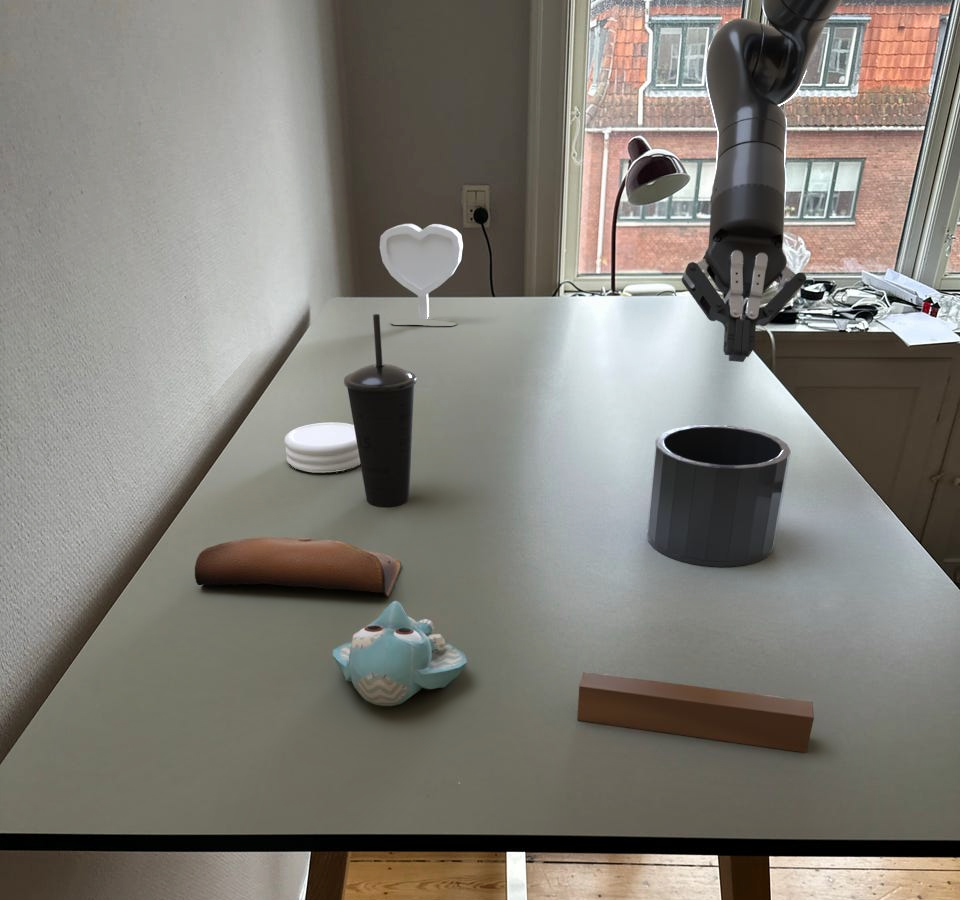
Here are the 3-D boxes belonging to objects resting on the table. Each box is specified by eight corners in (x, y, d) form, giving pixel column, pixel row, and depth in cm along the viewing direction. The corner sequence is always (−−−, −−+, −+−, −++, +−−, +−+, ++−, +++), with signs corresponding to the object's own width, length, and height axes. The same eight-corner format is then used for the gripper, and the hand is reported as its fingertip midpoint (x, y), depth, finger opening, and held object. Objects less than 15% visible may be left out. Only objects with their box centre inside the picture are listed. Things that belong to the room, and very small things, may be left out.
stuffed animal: (482, 581, 74) (451, 629, 63) (480, 663, 77) (449, 724, 65) (354, 571, 76) (302, 616, 65) (356, 652, 78) (306, 709, 67)
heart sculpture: (383, 325, 181) (377, 226, 172) (389, 320, 186) (383, 223, 176) (460, 327, 179) (458, 227, 170) (464, 321, 183) (463, 223, 174)
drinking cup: (376, 482, 108) (364, 304, 98) (433, 492, 105) (427, 310, 95) (340, 504, 102) (323, 318, 92) (399, 516, 99) (389, 325, 89)
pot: (740, 511, 100) (753, 421, 95) (796, 560, 89) (814, 462, 84) (630, 520, 98) (637, 429, 93) (673, 572, 87) (685, 472, 82)
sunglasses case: (405, 556, 89) (394, 516, 83) (394, 619, 86) (382, 581, 80) (228, 548, 91) (205, 508, 86) (210, 609, 88) (186, 571, 82)
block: (581, 705, 69) (583, 671, 67) (805, 736, 65) (812, 701, 63) (577, 720, 67) (579, 686, 65) (806, 753, 63) (814, 717, 62)
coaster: (327, 481, 109) (324, 452, 107) (270, 463, 114) (266, 436, 112) (384, 457, 115) (382, 430, 114) (328, 442, 121) (325, 416, 119)
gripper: (693, 174, 93) (682, 335, 90) (823, 186, 93) (816, 347, 90) (677, 218, 100) (666, 368, 98) (797, 230, 100) (790, 380, 98)
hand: (738, 358), depth 94 cm, fingers closed
